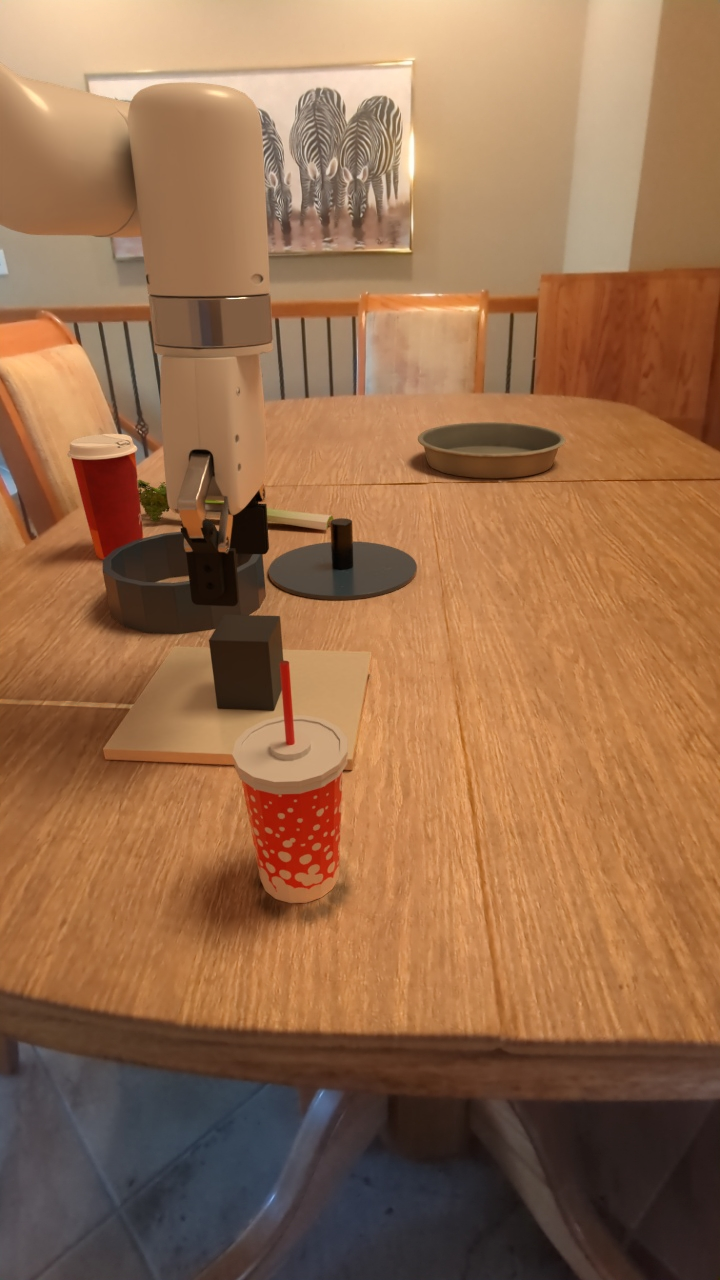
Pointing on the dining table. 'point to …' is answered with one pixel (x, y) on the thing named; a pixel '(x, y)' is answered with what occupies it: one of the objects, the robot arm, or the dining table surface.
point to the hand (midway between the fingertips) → (233, 576)
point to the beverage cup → (294, 799)
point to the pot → (171, 587)
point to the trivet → (201, 733)
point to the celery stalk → (159, 503)
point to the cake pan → (491, 449)
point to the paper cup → (108, 489)
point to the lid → (342, 568)
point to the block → (247, 662)
